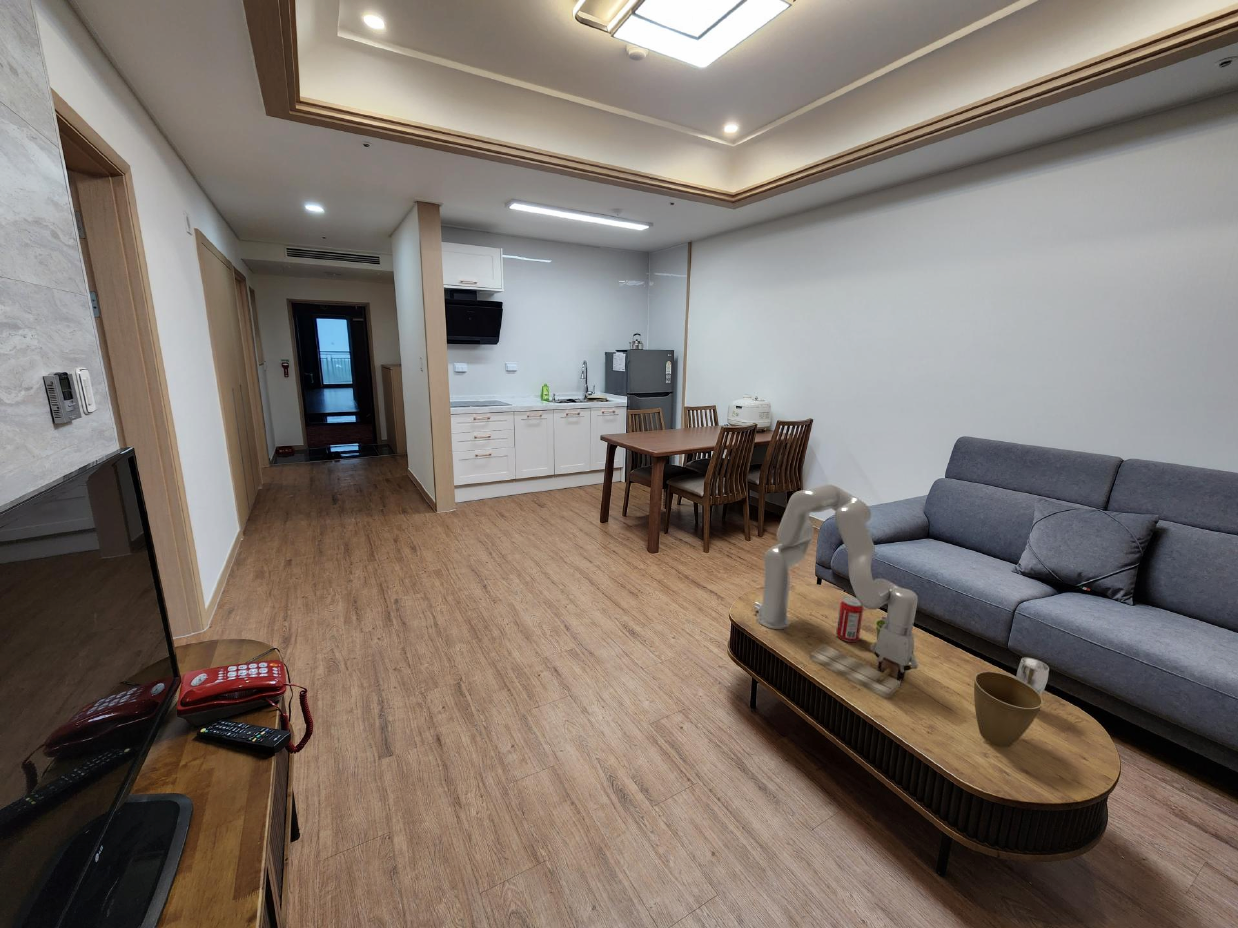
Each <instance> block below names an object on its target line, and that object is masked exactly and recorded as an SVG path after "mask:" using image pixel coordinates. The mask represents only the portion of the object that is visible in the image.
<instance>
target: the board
mask: <svg viewBox="0 0 1238 928" xmlns="http://www.w3.org/2000/svg"><path fill="white" fill-rule="evenodd" d="M809 654H810V655H809V660H811V661H813V662H815V663H817V664H819V665H820V666H823V667H824V668H827V669H829V671H830V670H831V671H832V672H835V673H836V674H838V675H840V676H842V677H844V678H846V679H849V680H850V681H852V682H854V683H856V684H858V685H859V686H862V687H863V688H866V689H867V690H869V691H871V692H873V693H875V694H877V695H878V696H880V697H883V698H885V699H886V700H889V699H890V698H891V697H892V696H893V694H895V693H896V691H898V689H899V688H900V687H901V680H900V681H898V680H896V679H894V678H892V677H890V676H887V677H885V678H884V679H883V682H882V683H881V682H879V681H877V678H878V677H879V676H880V675H881V674H882V672H880V671H879V670H878V669H875V668H873V667H871V666H869V665H867V664H865V663H863V662H861V661H859V660H856V659H854V658H853V657H851V656H848V655H847V654H844V653H842V652H841V651H838V650H836V649H835V648H832V647H830V646H828V645H825V644H824V643H823V644H821V646H819V647H817V648H816V649H815V650H812V652H810V653H809Z"/></svg>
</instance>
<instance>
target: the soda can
mask: <svg viewBox="0 0 1238 928" xmlns="http://www.w3.org/2000/svg"><path fill="white" fill-rule="evenodd" d="M839 603H840V604H839V611H838V617H837V625H836V629H835V630H836V631H835V632H836V636H837V637H838V638H840V639H841V640H843V641H845V642H852V643H853V642H854V643H855V642H857V641H859V639H860V635H861V630H862V629H861V627H862V622H863V617H864V610H865V609H864V608H865V607H864V606H863V605H862V604H861V603H860V602H859V600H858V599H857V597H851V596H846V597H842V600H841V601H840V602H839Z"/></svg>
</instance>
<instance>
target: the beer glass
mask: <svg viewBox="0 0 1238 928" xmlns="http://www.w3.org/2000/svg"><path fill="white" fill-rule="evenodd" d="M1049 671H1050V667H1049V666H1048V665H1047V664H1046V663H1044V662H1043V661H1040V660H1039V659H1036V658H1032V657H1022V658H1021V660H1020V662H1019V664H1018V669H1017V672H1016V676H1015V678H1016V679H1018V680H1020V681H1022V682H1024V683H1026V684H1027V685H1029V686H1030V687H1032V688H1033V689H1034V690H1036V691H1037V692H1038V693H1039V695H1040V696H1041V697H1042V694H1043V692H1044V691H1045V688H1046V685H1047V682H1048V679H1049Z"/></svg>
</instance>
